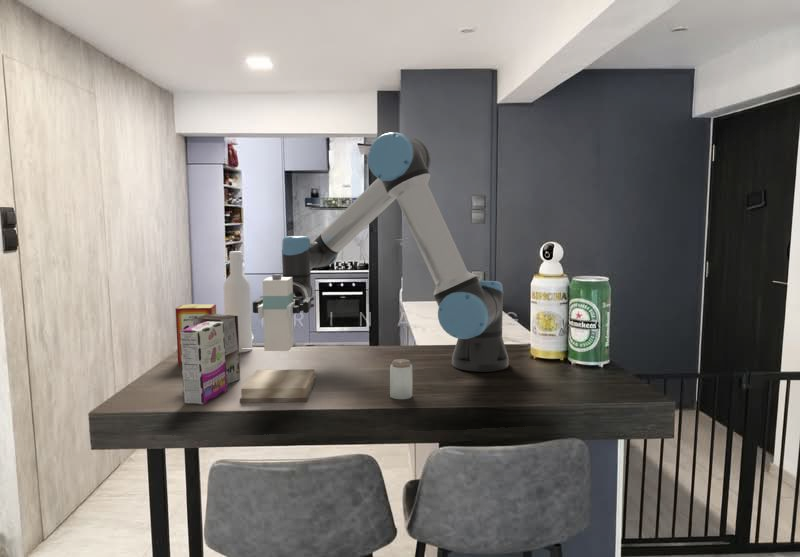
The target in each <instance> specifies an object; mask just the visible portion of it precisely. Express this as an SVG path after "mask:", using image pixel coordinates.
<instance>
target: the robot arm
mask: <svg viewBox="0 0 800 557" xmlns="http://www.w3.org/2000/svg"><path fill="white" fill-rule="evenodd" d="M431 160H432V159H431V154H430V151H429V149H428V147H427V146H426V145H425V144H424V143H423V142H422V141H421V140H419V139H416V138H414V137H411V136H407V135H405V134H404V133H401V132H387V133H384V134H381V135H380V136H378V137H376V139H375V140H374V141H373V142H372V144H371V145H370V148H369V151H368V152H367V164H368V168H369V170H370V172H371V173H372V175H373V176H374V177H376V179H375V180H374V181H373V182H372V183H371V184H370V185H369V186H368V187H367V188H366V189H365V190H364V191H363V192H362V193H361V194H360V195H359V196H358V197H357V198H355V200H353V202H352V203H351V204H350V205H349V206H348V207H346V208H345V209H344V211H342V213H340V215H338V216H337V217H336V218H335V220H333V221H332V222H331V223H330V224H329V225H328V226H327V227H326V228H325V229H324V230H323V231H322V232H321V233H320V234H319V235H318V236H317V237H316V238H315V239H314V240H312V241H311V239H310V237H309V236H306V235H288V236H284V237H283V238H282V244H281V258H282V259H281V262H282V277H292V281H293V302H291V303H290V304H289V305H288V306H287V319H290V318H291V317H292V316H293V317H294V315H295V314H300V313H301V311H302V312H303V313H304V314H308V313H309V312H310V310H311V309H312V308H314V307H315V297H314V296H313V286H312V285H311V283H312V282H311V280H312V279H311V273H312V272H311V271H312V270H311V269H316V268H325V267H328V266H330V265H332V264H333V263H335V262H336V260H337V259H338V255H339V253H340V252H341V251H343V249H344V248H345V247H346V246H348V244H350V242H352V241H353V240H354V239H355V238H356V237H357V236H358V235H359V234H360V233H361V232H362V231H363V230H364V229H365V228H366V227H367V226H369V225H370V224H371V223H372V222H373V221H374V220H375V219H376V218H377V217H379V216H380V214H381V213H383V211H385V210H386V209H387V208H388V207H389V206H390V205H391V204H392V203H393V202H394V201H396V200H397V203H398V204H399V207H400V210H401V212H402V214H403V216H404V218H405V221H406V223H407V225H408V227H409V230H410V231H411V234H412V236H413V238H414V240H415V243H416V245H417V247H418V249H419V251H420V253H421V256H422V258H423V260H424V262H425V264H426V266H427V270H428V271H429V273H430V275H431V278H432V280H433V282H434V284H435V288H434V291H433V297H434V300H435V301H436V304H437V306H438V308H437V309H438V310H437V320H438V323H439V325H440V327H441V328H442V329H443V331H445V333H446V334H448V335H449V336H451V337H452V338H455V339H457V340H456V343H455V347H454V351H453V353H452V356H451V365H452V366H453V367H454V368H456V369H458V370H461V371H462V370H463V371H467V372H468V371H469V372H480V373H481V372H482V373H487V372H489V373H490V372H498V371H502V370H506V369H508V367H509V360H510V359H509V358H510V357H509V355H508V352H507V348H506V345H505V342H504V338H503V312H504V311H503V309H504V308H503V306H504V305H503V304H504V300H503V299H504V290H503V284H502V282H500V281H497V280H494V281H493V280H479V278H478V276H477V275H476V274H474V273H472V272H470V271H469V270H468V269H467V266H466V264H465V263H464V260H463V258H462V256H461V253H460V251H459V249H458V247H457V245H456V243H455V240H454V238H453V237H452V234H451V232H450V229H449V228H448V226H447V223H446V221H445V219H444V217H443V215H442V213H441V210H440V208H439V206H438V204H437V202H436V200H435V197H434V195H433V192H432V191H431V188H430V186H429V181H430V178H431V173H430V172H429V170H430V167H431V162H432V161H431ZM252 313H254V314H258V315H257V317H258V319H259V320H260V319H261V320H263V319H264V317H263V295H261V296H259V298H257V299H256V300H254V301H252Z"/></svg>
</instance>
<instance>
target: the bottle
mask: <svg viewBox="0 0 800 557" xmlns="http://www.w3.org/2000/svg"><path fill="white" fill-rule="evenodd" d="M228 257H229V272H230V274H229V275H228V276H227V278H226V279H225V280H224V284H223V305H224V306H223V307H224V309H223V310H224V315H233V316H238V336H239V354H240V353H241V352H242V353H248V352H251V351H252V350H253V332H252V299H251V298H252V297H251V295H252V293H251V283H250V281H249V279H248V278H247V277H246V276H245V275H244V274H243V273H244V272H243V252H242V251H240V250H232V251H229V255H228ZM242 348H252V349H242Z"/></svg>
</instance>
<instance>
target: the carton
mask: <svg viewBox="0 0 800 557" xmlns="http://www.w3.org/2000/svg"><path fill="white" fill-rule="evenodd" d="M262 296H263V343H264V345H263V346H264V347H263V348H264V349H263V350H264V352H289V351H290V350H291V349H292V347H293V346H294V340H295V339H294V338H295V337H294V336H295V335H294V334H295V332H294V331H295V330H294V315H293V316H292V317H291V318H290V319H287V306H288V305H289V304H290V303H291V302H293V281H292V277H283V276H282V274H281V273H280V274H276V273H275V274H272V275H271V276H267V277H266V278H265V279H263V280H262Z"/></svg>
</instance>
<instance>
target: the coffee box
mask: <svg viewBox="0 0 800 557" xmlns="http://www.w3.org/2000/svg"><path fill="white" fill-rule="evenodd" d="M207 321H211V322H212V321H216V322H224V342H225V361H226V380H227V385H229V384H231V383H234V382H236V381H240V379H241V371H240V370H241V365H240V362H241V361H240V353H239V336H238V316H233V315H225V314H220V313H218V314H217V313H216V314H208V315H203V316H200V317H196V318H193V326H195V325H197V324H200V323H203V322H207Z"/></svg>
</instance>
